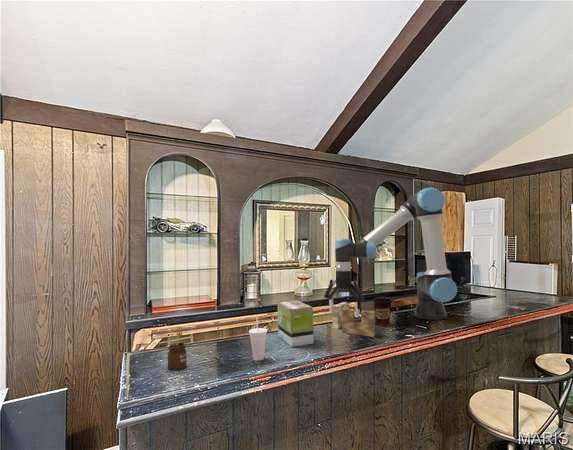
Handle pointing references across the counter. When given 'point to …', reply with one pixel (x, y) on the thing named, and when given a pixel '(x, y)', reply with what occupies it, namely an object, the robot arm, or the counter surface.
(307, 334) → the tea box
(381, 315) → the coffee cup
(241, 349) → the counter surface
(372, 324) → the walnut board
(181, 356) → the utensil holder
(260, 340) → the smoothie
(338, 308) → the maple plate
